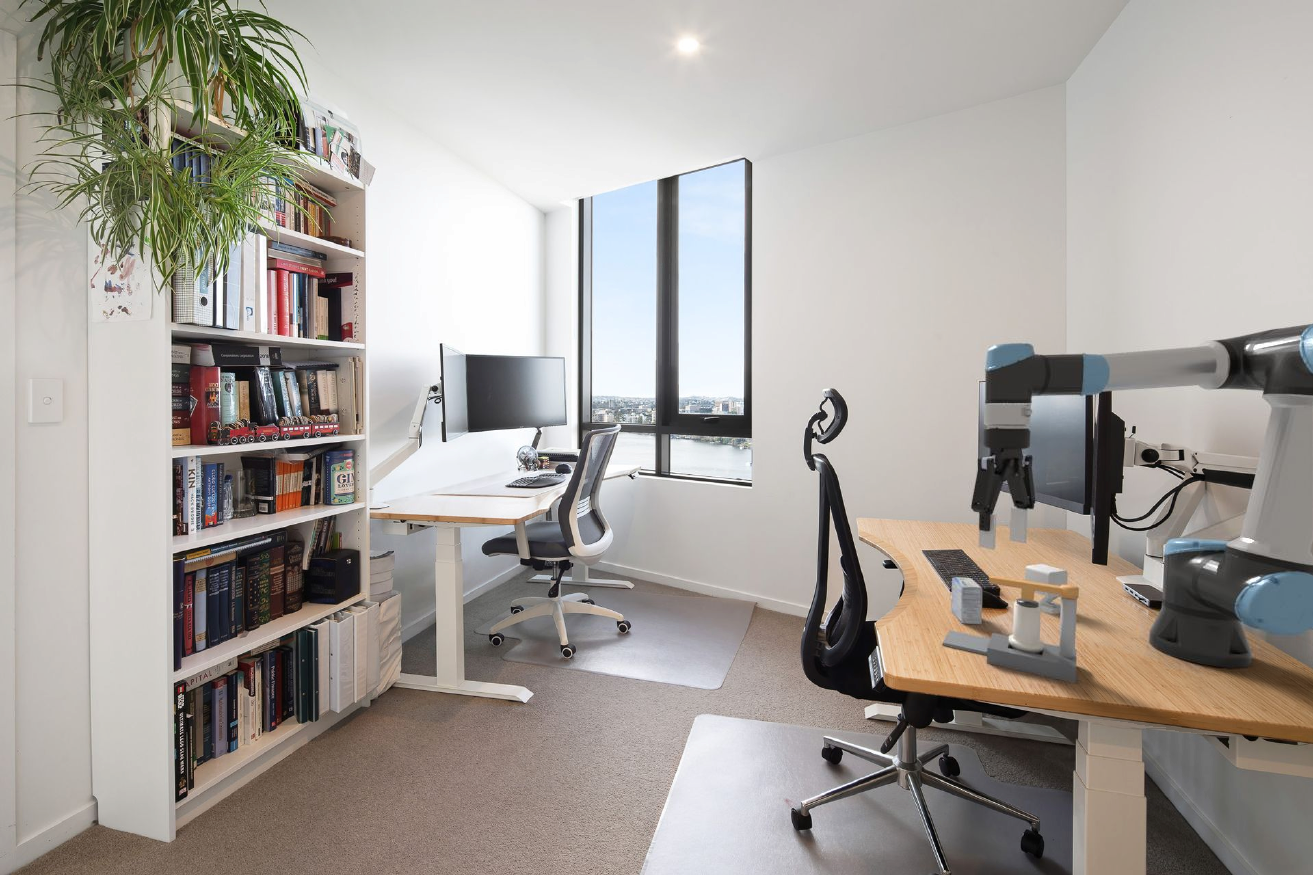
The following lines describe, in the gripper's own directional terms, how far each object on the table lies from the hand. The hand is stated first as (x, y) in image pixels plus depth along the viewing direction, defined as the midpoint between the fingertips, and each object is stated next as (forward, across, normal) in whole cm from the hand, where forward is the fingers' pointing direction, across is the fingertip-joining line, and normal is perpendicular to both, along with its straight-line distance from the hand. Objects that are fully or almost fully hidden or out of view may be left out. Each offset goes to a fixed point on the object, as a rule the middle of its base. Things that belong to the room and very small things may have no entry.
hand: (1002, 544), depth 110 cm
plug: (+24, +6, -2) cm, 24 cm away
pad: (+24, +4, +9) cm, 26 cm away
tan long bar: (+11, +7, -2) cm, 13 cm away
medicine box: (+24, +18, +18) cm, 35 cm away
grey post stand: (+24, +6, -3) cm, 25 cm away
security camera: (+24, +42, +13) cm, 49 cm away
